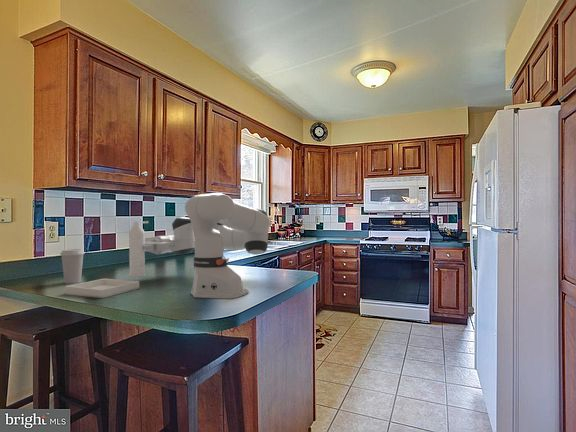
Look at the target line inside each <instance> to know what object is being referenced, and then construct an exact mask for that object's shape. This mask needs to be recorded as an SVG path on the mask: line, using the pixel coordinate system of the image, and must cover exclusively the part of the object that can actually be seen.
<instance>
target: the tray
mask: <svg viewBox="0 0 576 432" xmlns="http://www.w3.org/2000/svg"><path fill="white" fill-rule="evenodd" d="M135 290H140V281H139V280H129V279H128V280H126V279H116V278H99V279H95V280H90V281H84V282H79V283H73V284H71V285H70V284H69V285H66V286H64V294H65V295H71V296H81V297H88V298H98V299H105V298H108V297H112V296H115V295H120V294H124V293H127V292H132V291H135Z"/></svg>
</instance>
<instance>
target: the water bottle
mask: <svg viewBox="0 0 576 432" xmlns="http://www.w3.org/2000/svg"><path fill="white" fill-rule="evenodd" d="M142 224H149V221H148V220H146V221H142ZM128 238H129V239H128V245H129V247H128V248H129V250H128V255H129V256H128V257H129V258H128V259H129V265H128V266H129V277H130V278H134V279H136V278H137V279H138V278H144V277H145V276H146V266H145V265H146V254H145V253H146V251H145V250H143V246H145V245H144V244H145V243H144V242H145V238H146V237H145V230H144V228H143V227H142V226H141V223H140V221H133V225H132V227H131V229H130V230H129V232H128Z"/></svg>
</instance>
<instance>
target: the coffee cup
mask: <svg viewBox="0 0 576 432" xmlns="http://www.w3.org/2000/svg"><path fill="white" fill-rule="evenodd" d="M85 253H86V252H85V251H84V250H83V249H82V248H72V249H71V248H70V249H62V250H61V252H60V254H59V256H61V263H62V272H63V282H64V284H67V285H68V284H69V285H70V284H71V285H73V284H79V283H82V276H83V275H82V274H83V273H82V272H83V263H84V262H83V260H84V255H85Z"/></svg>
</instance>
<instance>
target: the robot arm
mask: <svg viewBox="0 0 576 432" xmlns="http://www.w3.org/2000/svg"><path fill="white" fill-rule="evenodd" d="M184 210H185V213H186V215H187V216H188V217H187V216H180V217H176V218H175V219H174V220H173V222H172V223H171V226H172V231H173V234H168V235H156V236H152V237H144V238H145V242H144V243H145V244H144V245H145V246H143V250H145V253H146V252H148V253H152V254H155V255H163V254H167V253H173V254H174V255H177V256H178V255H179V256H180V255H187V254H191V253H192V252H193V251H194V256H193V269H194V270H193V271H194V273H193V274H194V275H193V282H192V287H191V289H190V290H191V291H190V294H191V295H192V297H193V298H202V299H204V298H205V299H224V300H225V299H228V300H231V299H236V298H240V297H243V296H245V295H247V294H248V293H249V289H248V288H245V287H244V286H243V281H242V278H241V276H240V275H239V274H238V273H237V272H236V271H235V270H233V269H232V268H231V267H230V266H228V262H229V261H230V258H226V257H225V255H224V250H226V251H238V250H245V251H246V252H248V253H247V254H250V255H261V254H265V252H267V249H268V246H269V243H268V239H269V229H270V225H271V221H270V218H269V216H268V214H267V212H266V211H265V210H264V209H263V208H253V207H250V206H248V205H245V204H242V203H239V202H237V201H235V200H233V199H232V198H231V197H230V196H229V195H227V194H224V193H220V192H214V193H201V194H196V195H193V196H192V197H190V198H189V199H188V200H187V201H186V203H185V206H184ZM246 293H247V294H246ZM242 295H243V296H242Z"/></svg>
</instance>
